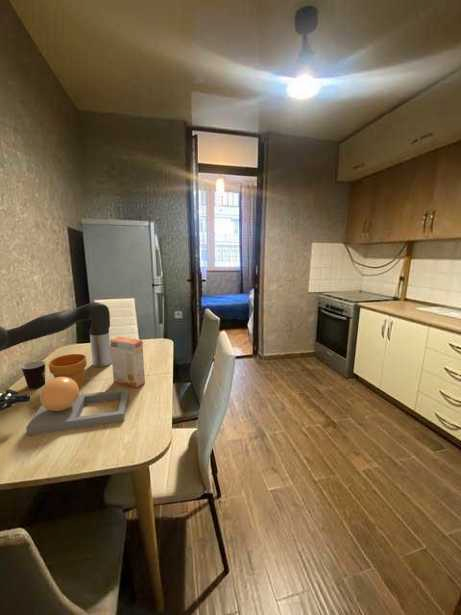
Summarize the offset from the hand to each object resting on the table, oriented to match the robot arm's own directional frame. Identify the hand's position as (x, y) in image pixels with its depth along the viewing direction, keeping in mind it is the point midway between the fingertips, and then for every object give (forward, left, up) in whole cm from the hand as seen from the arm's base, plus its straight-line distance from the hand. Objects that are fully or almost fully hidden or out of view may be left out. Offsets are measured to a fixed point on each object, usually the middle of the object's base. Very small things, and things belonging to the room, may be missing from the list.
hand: (29, 397), depth 96 cm
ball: (-8, +6, 0) cm, 10 cm away
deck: (-14, +10, -9) cm, 19 cm away
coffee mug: (-11, -29, -9) cm, 32 cm away
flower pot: (-19, -15, -9) cm, 26 cm away
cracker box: (-38, +1, -9) cm, 39 cm away
